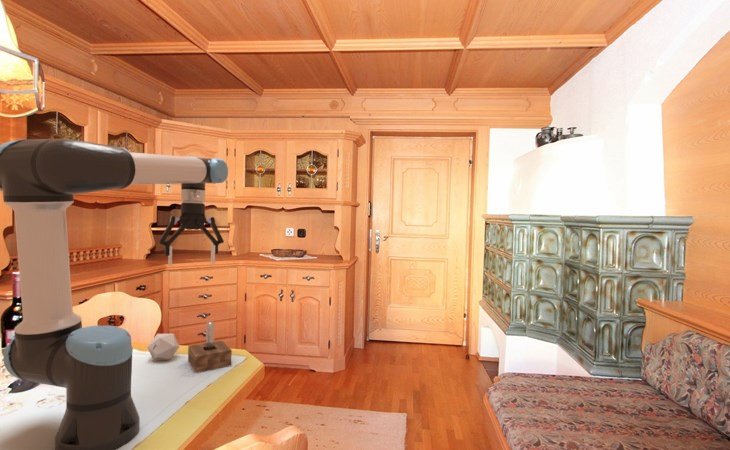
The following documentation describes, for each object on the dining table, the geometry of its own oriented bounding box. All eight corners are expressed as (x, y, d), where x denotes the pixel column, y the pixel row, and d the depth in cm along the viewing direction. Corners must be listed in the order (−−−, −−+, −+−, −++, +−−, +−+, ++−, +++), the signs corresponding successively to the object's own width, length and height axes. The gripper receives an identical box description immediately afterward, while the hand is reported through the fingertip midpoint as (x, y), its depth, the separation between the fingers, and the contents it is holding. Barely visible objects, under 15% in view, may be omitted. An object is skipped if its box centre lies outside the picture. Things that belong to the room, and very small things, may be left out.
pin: (206, 360, 123) (207, 324, 123) (204, 358, 125) (205, 322, 125) (214, 359, 124) (214, 323, 124) (212, 356, 126) (213, 321, 126)
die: (147, 358, 129) (139, 341, 123) (169, 339, 135) (163, 322, 129) (163, 371, 126) (156, 354, 120) (186, 351, 132) (180, 334, 126)
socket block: (195, 372, 117) (195, 356, 117) (188, 360, 126) (188, 346, 126) (231, 365, 124) (231, 350, 123) (222, 354, 133) (222, 340, 132)
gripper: (153, 200, 119) (152, 267, 119) (233, 204, 133) (232, 263, 134) (150, 201, 125) (149, 264, 126) (227, 204, 139) (226, 261, 140)
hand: (192, 264), depth 130 cm, fingers open, 13 cm apart
